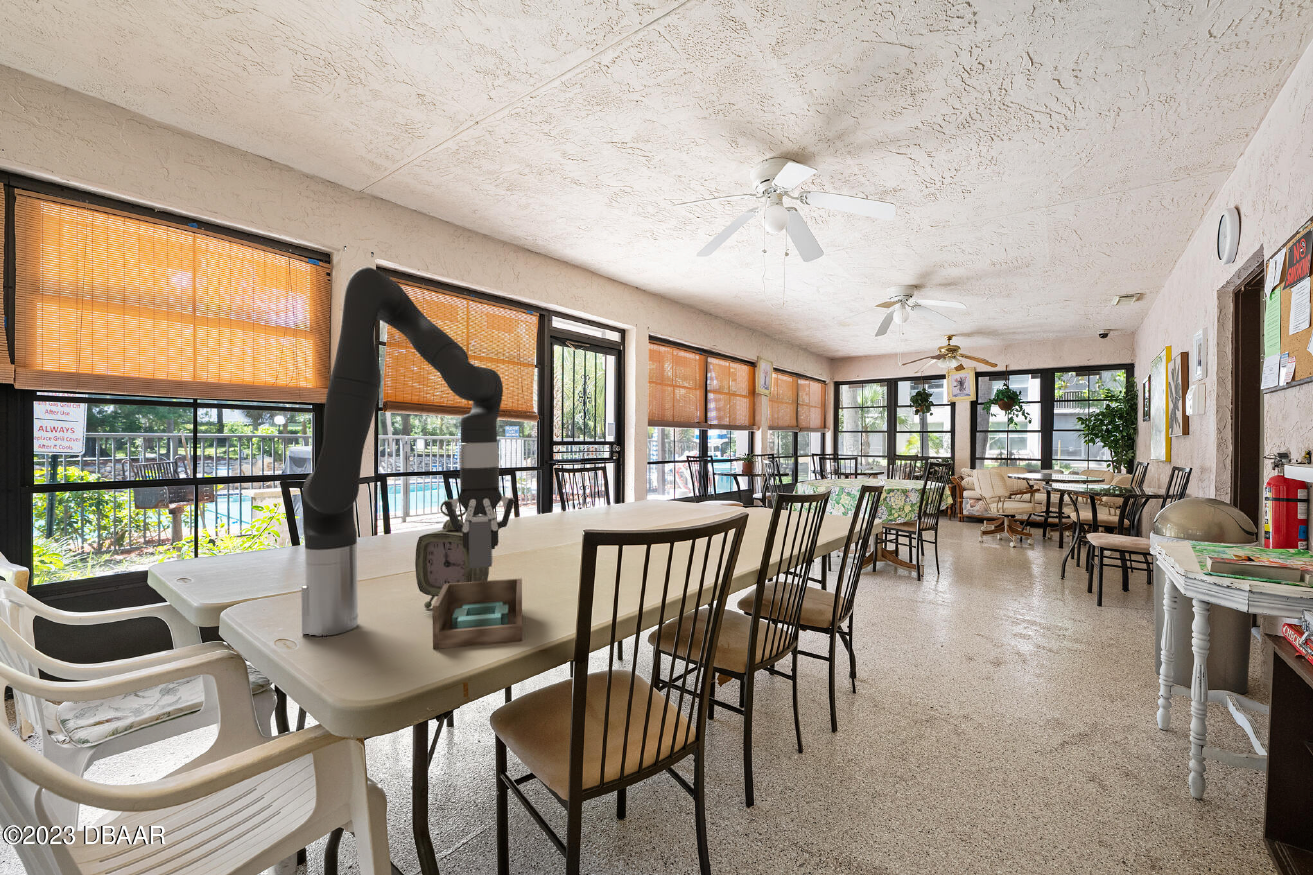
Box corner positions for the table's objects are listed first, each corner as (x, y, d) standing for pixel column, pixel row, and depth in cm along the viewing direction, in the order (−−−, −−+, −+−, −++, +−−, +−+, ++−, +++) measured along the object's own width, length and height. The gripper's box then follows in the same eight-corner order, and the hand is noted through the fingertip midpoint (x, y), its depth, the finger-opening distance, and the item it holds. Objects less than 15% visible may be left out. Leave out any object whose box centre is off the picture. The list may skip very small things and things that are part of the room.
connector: (469, 568, 109) (468, 517, 109) (471, 563, 113) (470, 514, 113) (491, 566, 110) (490, 516, 110) (492, 561, 114) (491, 513, 114)
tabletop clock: (415, 610, 125) (414, 500, 125) (440, 599, 133) (439, 496, 133) (472, 614, 121) (471, 501, 121) (494, 602, 130) (493, 497, 130)
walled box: (432, 649, 102) (432, 606, 102) (445, 620, 117) (444, 583, 117) (521, 640, 105) (521, 599, 105) (522, 614, 121) (521, 578, 121)
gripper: (439, 467, 106) (441, 555, 106) (515, 465, 110) (517, 550, 110) (444, 465, 113) (446, 547, 114) (515, 463, 117) (517, 543, 117)
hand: (481, 548), depth 112 cm, fingers closed on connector, 4 cm apart
